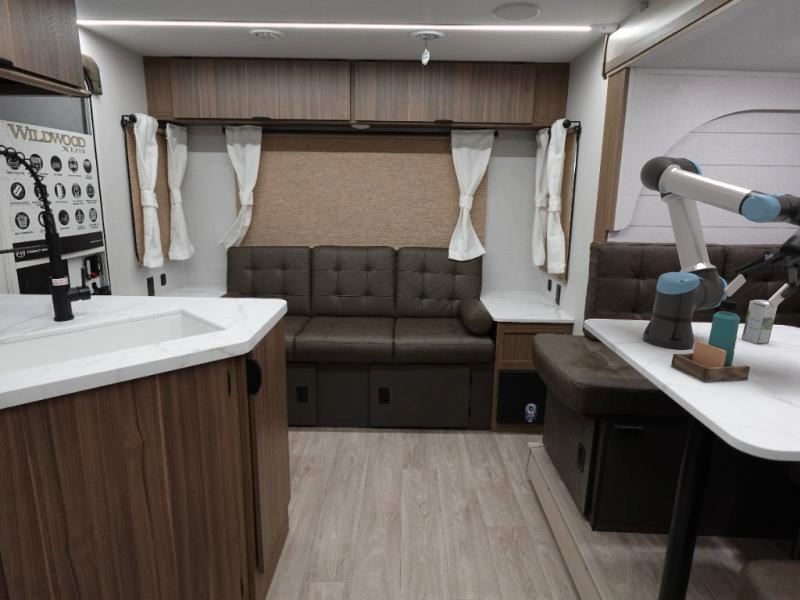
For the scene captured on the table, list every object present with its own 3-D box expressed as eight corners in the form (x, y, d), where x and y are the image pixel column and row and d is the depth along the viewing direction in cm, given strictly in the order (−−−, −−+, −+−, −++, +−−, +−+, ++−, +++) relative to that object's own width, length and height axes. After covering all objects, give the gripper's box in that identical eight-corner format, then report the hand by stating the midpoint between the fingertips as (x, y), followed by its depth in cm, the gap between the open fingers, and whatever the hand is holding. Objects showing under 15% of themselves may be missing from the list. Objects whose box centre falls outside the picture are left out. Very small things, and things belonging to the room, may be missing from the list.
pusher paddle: (694, 363, 141) (698, 340, 140) (721, 375, 132) (726, 351, 131) (691, 363, 141) (695, 340, 139) (718, 375, 132) (723, 351, 130)
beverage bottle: (734, 375, 134) (749, 304, 129) (707, 372, 135) (721, 302, 131) (724, 367, 140) (738, 299, 135) (699, 364, 141) (712, 297, 137)
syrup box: (752, 338, 174) (761, 299, 170) (769, 343, 168) (778, 303, 165) (741, 339, 172) (749, 299, 169) (757, 344, 166) (766, 303, 163)
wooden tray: (710, 364, 144) (713, 352, 144) (747, 379, 133) (750, 366, 132) (671, 366, 141) (673, 353, 140) (704, 382, 130) (707, 369, 129)
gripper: (858, 261, 123) (798, 320, 123) (767, 248, 147) (716, 297, 147) (847, 240, 121) (786, 299, 121) (756, 230, 145) (704, 280, 145)
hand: (747, 298), depth 134 cm, fingers open, 13 cm apart
